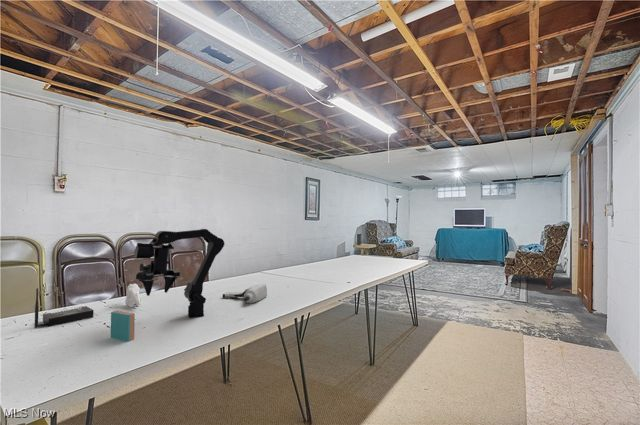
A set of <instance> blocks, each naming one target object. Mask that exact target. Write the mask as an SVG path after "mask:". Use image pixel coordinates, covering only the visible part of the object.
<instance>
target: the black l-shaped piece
mask: <svg viewBox="0 0 640 425" xmlns="http://www.w3.org/2000/svg"><path fill="white" fill-rule="evenodd" d="M35 290H36V294H35V296H36V297H35V304H34V305H35V306H34V329H38V328H40V327H48V328H49V327H56V326H59V325H65V324H69V323H73V322H78V321H83V320H88V319H92V318H94V309H93V308H90V307H88V306H86V305H85V306H82V307H77V308H74V309H73V308H71V309H69V310H67V309H66V310H63V311H62V310H61V311H57V312H48V313H47V312H46V313H43V314H42V323H39V288H36V289H35Z"/></svg>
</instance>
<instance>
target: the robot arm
mask: <svg viewBox="0 0 640 425" xmlns="http://www.w3.org/2000/svg"><path fill="white" fill-rule="evenodd" d="M195 238H202V239H203V240H204V242H206V243H207V246H206V254H205V255H204V257H203V260H202V262H201V264H200V265H199V268H198V271H197V272H196V275H195V276H194V279H193V280H192V281H191V282H187V283H186V286H185V287H184V289H183V291H184V292H183V293H184V294H183V295H184V297H185V298H186V299H187V301H188V302H189V305H188V306H187V307H188V308H187V315H188V317H189V318H190V319H191V318H198V317H204V316H205V314H204V309H205V308H204V306H205V304H206V301H207V298H206V297H204V295H202V294H203V290H204V282H205V281H206V278H207V276H208V274H209V271H210V270H211V267H212V266H213V263H214V261H215V259H216V257H217V256H218V254H220V253H221V251H222V250H223V249H224V247H225V241H224V239H223V238H221V237H218V236H217V235H216V234H214V233H213V232H211V231H210V230H209V229H207V228H201V229H191V230H182V231H181V230H180V231H170V230H169V231H168V230H159V231H157V232H156V233H155V235H154V238H153V239H152V240H151V241H150V242H149V243H142V242H136V246H135V248H134V253H133V258H134V259H135V260H139V259H140V260H143V259H145V260H147V259H148V260H150V259H151V258H153V260H151V261H150V264H147V263H140V265H139V272H137V273H136V274H135V275H136V276H135V279H136V280H138V281H139V282H141V283H142V284H143V287H144V290H145V294H146V296H148V297H149V296H151V295H150V294H151V293H152V289H153V284H154V278H157V277H163V278H164V279H163V280H164V289H163V290H164V293H168V291H169V290H170V289H171V287H172V285H173V283H174V282H175V280H176V279H178V277H180V276H181V275H180V274H181V271H180V270H179V269H172V268H169V269H168V265H169V264H170V262H171V261H170V260H169V253H170V250H174V249H175V247H174V246H173V245H172V244H171V243H174V242H177V241H179V240H189V239H195Z"/></svg>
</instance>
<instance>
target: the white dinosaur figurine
mask: <svg viewBox="0 0 640 425" xmlns="http://www.w3.org/2000/svg"><path fill="white" fill-rule="evenodd" d="M140 294H141V288H140V287H139V285H138V284H137V283H135V282H134V283H129V285H128V286H127V288H126V296H125V302H124V303H125V305H126V306H127V307H129V308H134V306H135V305H136V307H140V306H141V305H142V297H141V295H140Z"/></svg>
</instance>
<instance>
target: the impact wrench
mask: <svg viewBox="0 0 640 425" xmlns="http://www.w3.org/2000/svg"><path fill="white" fill-rule="evenodd" d="M267 291H268V289H267V285H266V283H258V284H254V285H251V286H249V287H248V288H246V289H244V290H243V291H237V292H236V291H227V292H225V293H223V294H222V299H230V298H243V301H244V302H245V303H247V304H254V303H257V302H259V301H261V300H263V299H265V298H266V297H267V296H268V292H267Z"/></svg>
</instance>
